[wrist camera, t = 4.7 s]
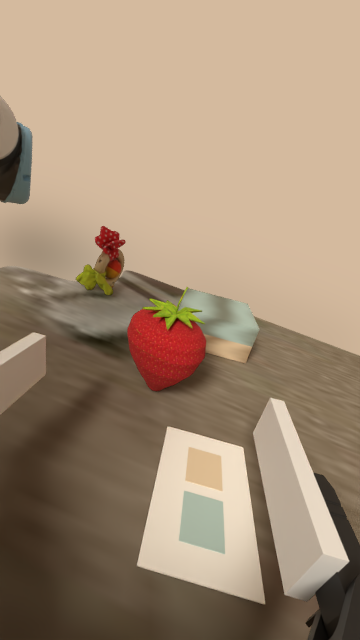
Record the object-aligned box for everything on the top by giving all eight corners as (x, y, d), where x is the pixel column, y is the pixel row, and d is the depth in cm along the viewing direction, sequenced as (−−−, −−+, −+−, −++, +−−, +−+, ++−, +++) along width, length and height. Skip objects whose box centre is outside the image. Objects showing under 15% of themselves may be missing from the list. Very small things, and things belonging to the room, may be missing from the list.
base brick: (170, 343, 30) (179, 307, 28) (180, 315, 39) (187, 288, 37) (245, 363, 30) (259, 329, 28) (237, 331, 39) (247, 303, 37)
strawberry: (154, 358, 26) (173, 271, 22) (203, 401, 22) (238, 302, 18) (105, 374, 22) (118, 270, 18) (155, 431, 17) (186, 310, 13)
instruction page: (136, 565, 11) (136, 564, 11) (167, 427, 18) (167, 425, 18) (264, 604, 10) (265, 603, 10) (242, 448, 18) (243, 447, 18)
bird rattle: (93, 292, 46) (65, 282, 37) (111, 239, 46) (87, 216, 37) (122, 301, 45) (100, 294, 36) (140, 247, 45) (123, 226, 36)
